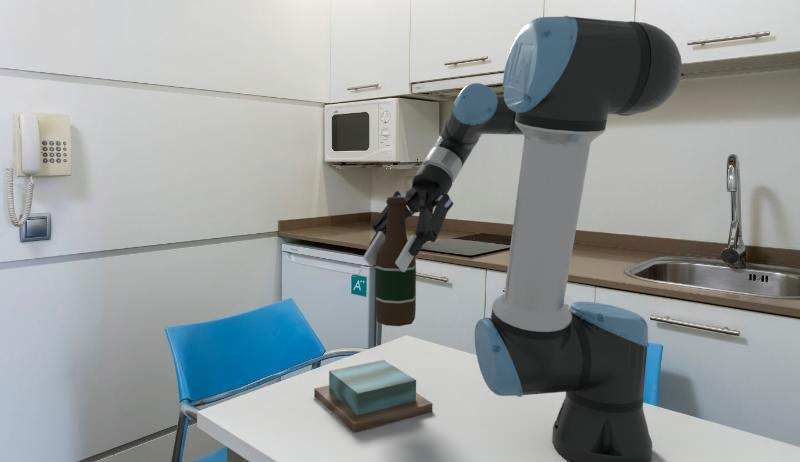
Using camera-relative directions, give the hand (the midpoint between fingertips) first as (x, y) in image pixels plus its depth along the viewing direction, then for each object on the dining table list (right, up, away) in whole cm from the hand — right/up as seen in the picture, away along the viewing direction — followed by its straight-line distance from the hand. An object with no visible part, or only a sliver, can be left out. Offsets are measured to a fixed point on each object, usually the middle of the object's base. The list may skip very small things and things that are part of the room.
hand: (383, 264), depth 106 cm
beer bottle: (+2, -11, +4) cm, 12 cm away
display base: (-2, -26, +1) cm, 26 cm away
